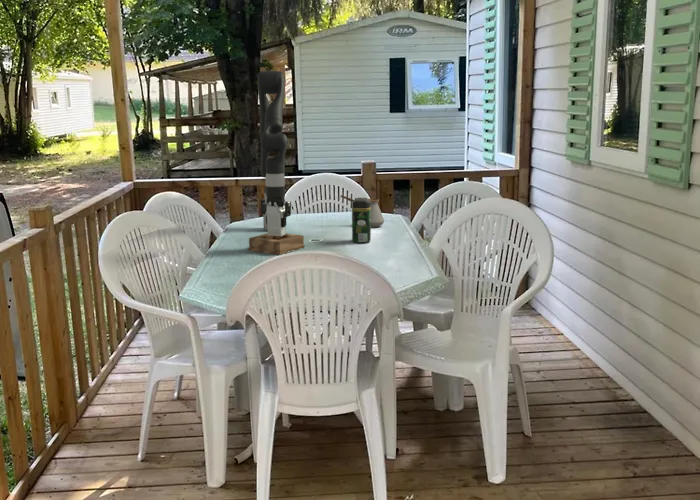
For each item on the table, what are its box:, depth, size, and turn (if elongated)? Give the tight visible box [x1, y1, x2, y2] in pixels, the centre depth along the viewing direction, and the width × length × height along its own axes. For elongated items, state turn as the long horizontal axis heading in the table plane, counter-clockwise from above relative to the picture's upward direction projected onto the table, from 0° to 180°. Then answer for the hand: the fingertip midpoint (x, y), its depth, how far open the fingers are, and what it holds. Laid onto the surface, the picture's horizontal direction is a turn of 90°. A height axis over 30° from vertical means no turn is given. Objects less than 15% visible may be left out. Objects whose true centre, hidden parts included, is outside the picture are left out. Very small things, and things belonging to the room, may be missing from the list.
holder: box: [247, 232, 306, 256], centre depth 276 cm, size 16×16×5 cm
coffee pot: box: [338, 194, 385, 229], centre depth 323 cm, size 21×12×15 cm, turn 91°
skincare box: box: [267, 206, 286, 236], centre depth 274 cm, size 6×4×12 cm
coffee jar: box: [351, 197, 372, 244], centre depth 289 cm, size 10×8×19 cm
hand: (276, 225), depth 274 cm, fingers closed on skincare box, 6 cm apart
